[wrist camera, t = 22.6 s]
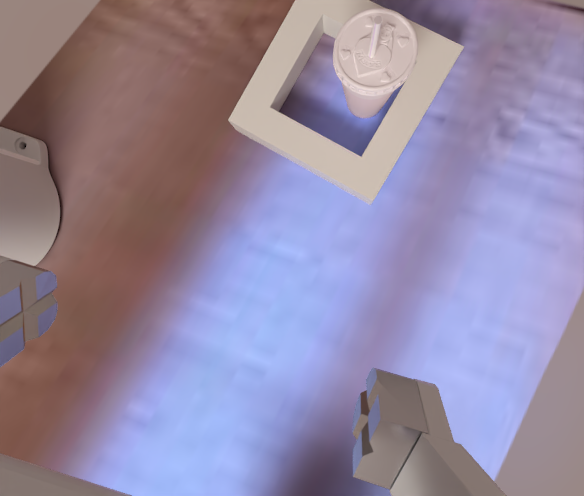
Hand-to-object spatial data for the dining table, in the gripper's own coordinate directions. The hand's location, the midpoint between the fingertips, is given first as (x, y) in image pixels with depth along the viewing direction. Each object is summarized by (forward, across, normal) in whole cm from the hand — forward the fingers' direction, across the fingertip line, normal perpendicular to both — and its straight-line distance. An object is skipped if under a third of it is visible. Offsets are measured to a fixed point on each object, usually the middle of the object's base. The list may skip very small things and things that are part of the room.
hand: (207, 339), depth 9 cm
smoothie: (+34, -3, -6) cm, 35 cm away
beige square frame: (+34, -1, -6) cm, 34 cm away
